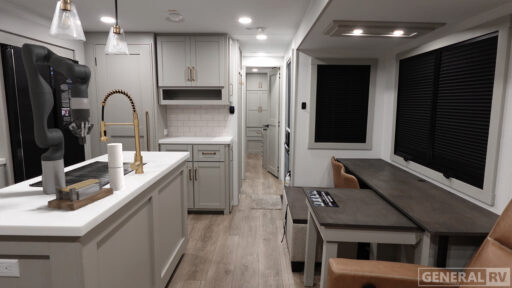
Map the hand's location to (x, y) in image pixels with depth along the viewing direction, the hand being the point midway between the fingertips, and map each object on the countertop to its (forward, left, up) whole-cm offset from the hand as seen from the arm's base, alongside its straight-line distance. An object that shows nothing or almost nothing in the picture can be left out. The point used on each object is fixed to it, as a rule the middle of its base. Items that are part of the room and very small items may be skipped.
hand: (82, 144), depth 134 cm
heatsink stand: (0, -2, -27) cm, 27 cm away
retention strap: (0, -3, -20) cm, 20 cm away
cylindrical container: (+3, +18, -27) cm, 33 cm away
